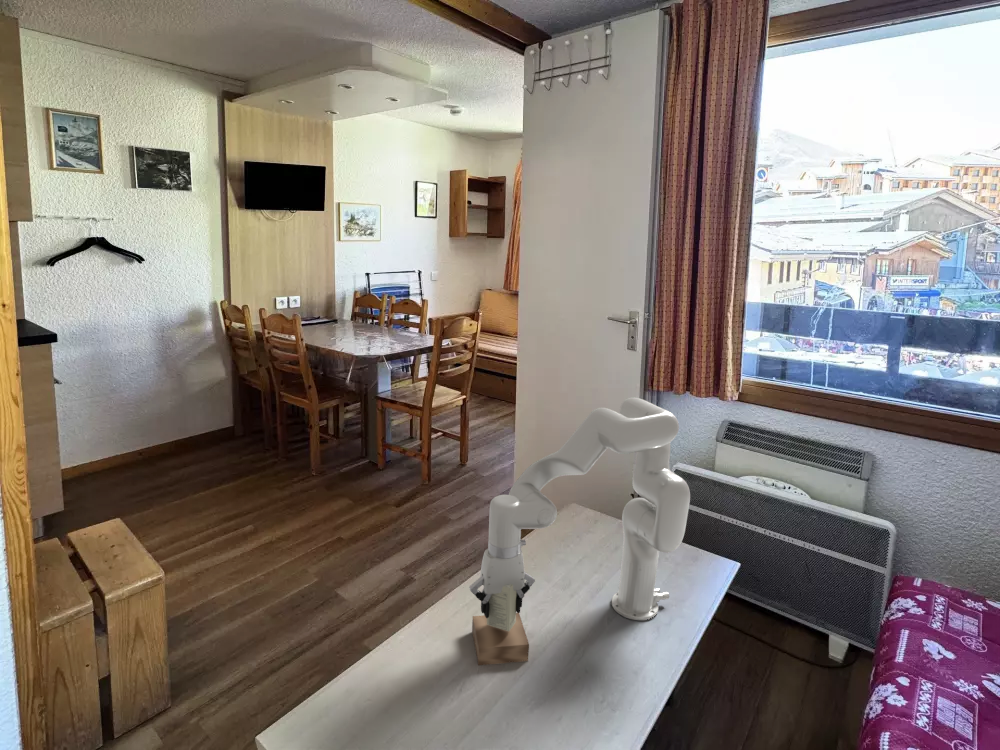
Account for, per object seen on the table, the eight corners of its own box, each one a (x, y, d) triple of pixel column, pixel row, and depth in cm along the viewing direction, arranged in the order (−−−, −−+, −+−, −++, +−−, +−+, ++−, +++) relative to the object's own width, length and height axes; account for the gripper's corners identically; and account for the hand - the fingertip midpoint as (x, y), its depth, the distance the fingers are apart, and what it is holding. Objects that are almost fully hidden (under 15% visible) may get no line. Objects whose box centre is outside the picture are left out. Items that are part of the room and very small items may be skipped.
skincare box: (516, 622, 151) (518, 578, 148) (509, 632, 147) (511, 587, 144) (492, 614, 154) (494, 571, 151) (485, 624, 150) (486, 580, 147)
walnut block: (518, 629, 159) (519, 612, 158) (527, 662, 147) (529, 644, 146) (472, 633, 157) (472, 616, 155) (478, 666, 145) (479, 648, 144)
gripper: (533, 534, 151) (529, 597, 156) (464, 543, 146) (462, 608, 151) (544, 550, 144) (540, 616, 149) (472, 560, 139) (470, 627, 144)
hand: (501, 611), depth 150 cm, fingers closed on skincare box, 7 cm apart
